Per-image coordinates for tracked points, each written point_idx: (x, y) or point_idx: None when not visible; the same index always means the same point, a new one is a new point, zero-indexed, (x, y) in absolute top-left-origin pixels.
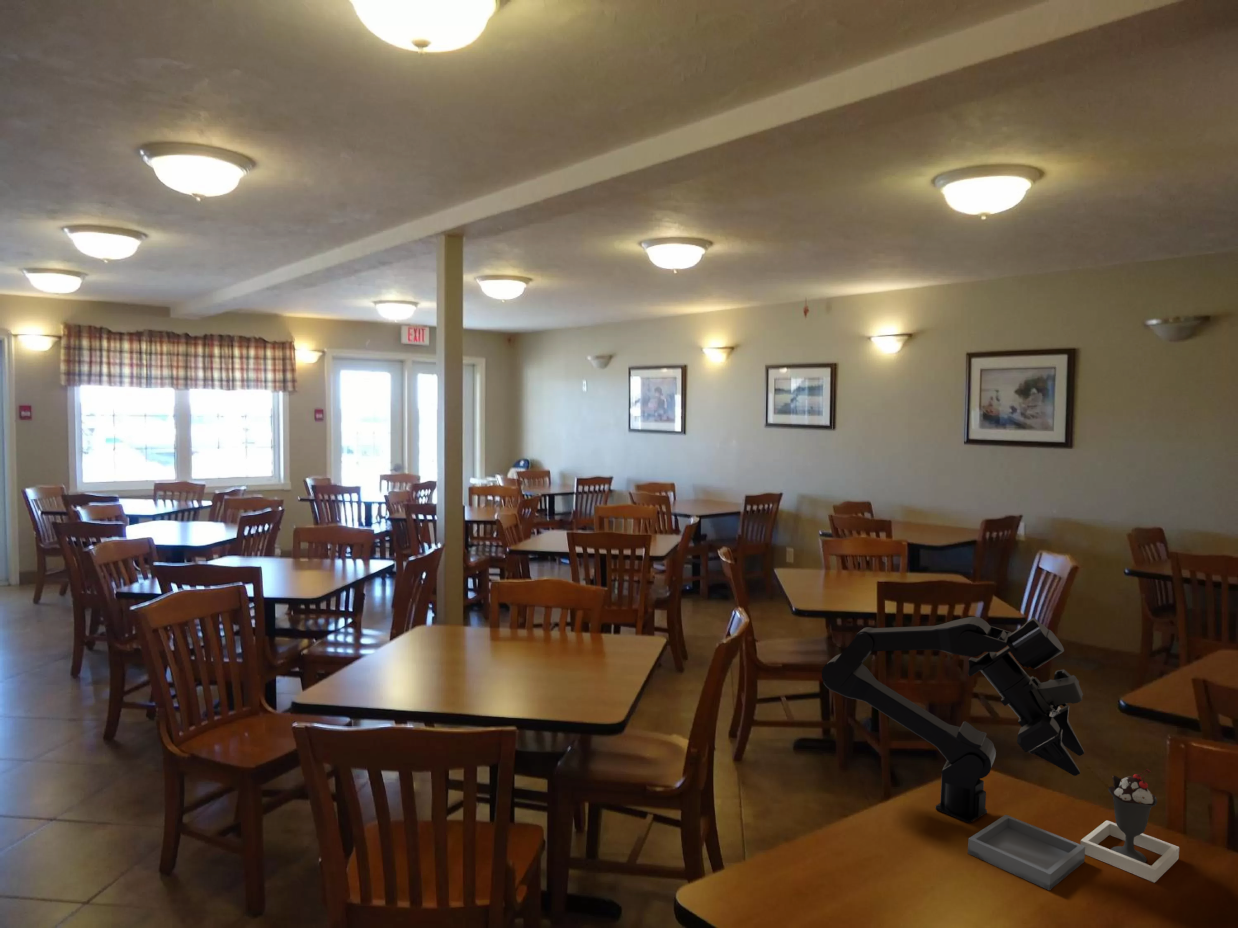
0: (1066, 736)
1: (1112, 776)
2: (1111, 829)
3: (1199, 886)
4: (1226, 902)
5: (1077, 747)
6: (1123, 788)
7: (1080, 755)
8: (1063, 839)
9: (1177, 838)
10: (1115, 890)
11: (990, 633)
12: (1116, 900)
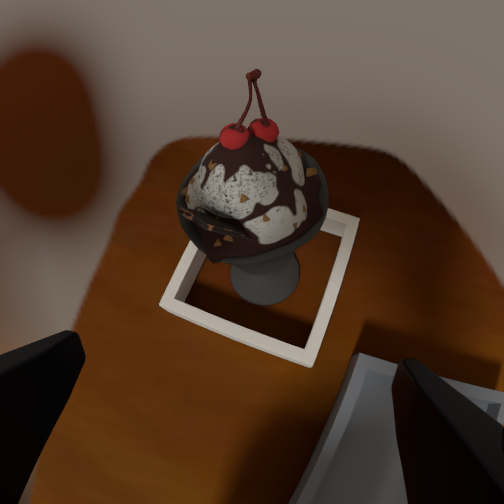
0: (12, 420)
1: (209, 229)
2: (180, 298)
3: None
4: (344, 145)
5: (57, 363)
6: (274, 201)
7: (84, 352)
8: (350, 403)
9: (144, 193)
10: (430, 294)
11: None
12: (459, 291)
